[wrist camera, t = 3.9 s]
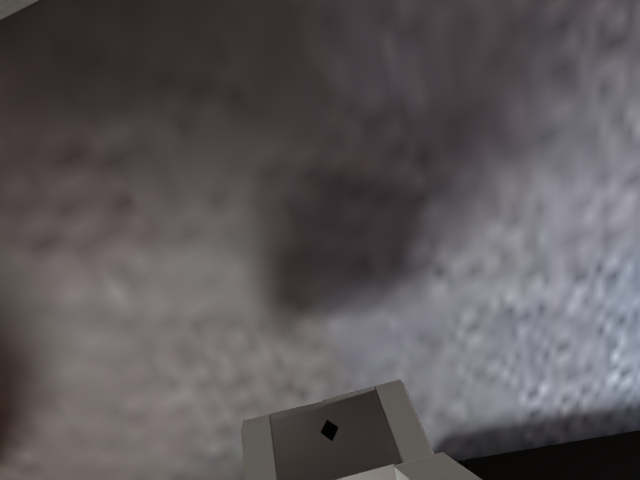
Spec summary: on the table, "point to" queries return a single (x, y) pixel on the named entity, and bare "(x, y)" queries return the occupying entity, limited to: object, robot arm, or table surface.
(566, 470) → the vhs tape
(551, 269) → the table surface
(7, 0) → the small box
